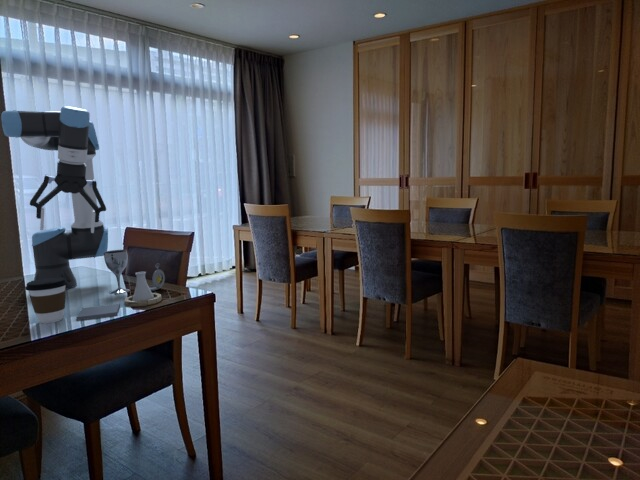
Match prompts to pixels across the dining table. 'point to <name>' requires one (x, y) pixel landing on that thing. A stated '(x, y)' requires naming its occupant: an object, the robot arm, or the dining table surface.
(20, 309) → the dining table surface
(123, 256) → the wine glass
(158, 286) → the pocket watch
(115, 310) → the rubber mat
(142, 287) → the flask
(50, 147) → the robot arm
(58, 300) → the coffee cup
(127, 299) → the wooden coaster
